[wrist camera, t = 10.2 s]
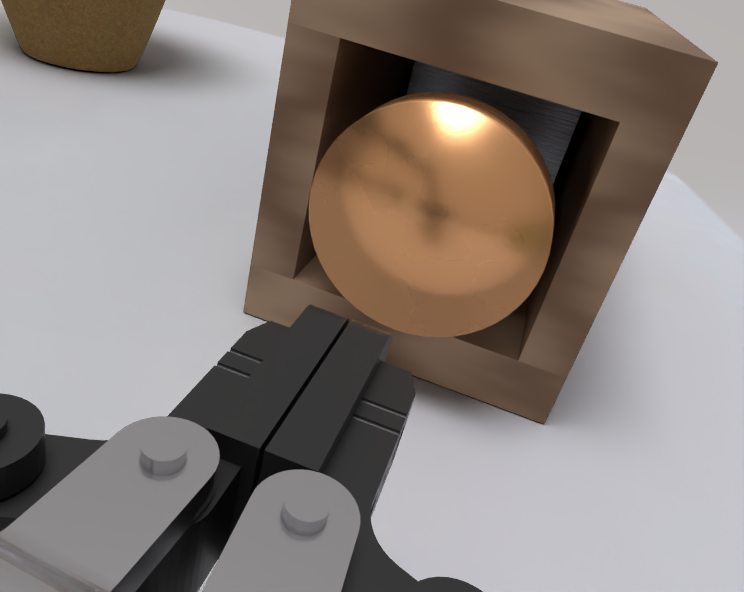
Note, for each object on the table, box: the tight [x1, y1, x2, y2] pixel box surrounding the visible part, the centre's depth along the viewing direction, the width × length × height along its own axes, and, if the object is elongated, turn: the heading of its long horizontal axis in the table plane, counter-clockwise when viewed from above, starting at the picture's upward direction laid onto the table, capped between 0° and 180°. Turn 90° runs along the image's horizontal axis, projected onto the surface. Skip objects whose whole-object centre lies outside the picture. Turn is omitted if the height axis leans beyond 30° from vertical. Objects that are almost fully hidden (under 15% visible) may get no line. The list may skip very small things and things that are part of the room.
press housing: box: [243, 0, 718, 424], centre depth 30 cm, size 11×24×12 cm, turn 163°
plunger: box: [309, 61, 581, 337], centre depth 27 cm, size 7×21×7 cm, turn 163°
